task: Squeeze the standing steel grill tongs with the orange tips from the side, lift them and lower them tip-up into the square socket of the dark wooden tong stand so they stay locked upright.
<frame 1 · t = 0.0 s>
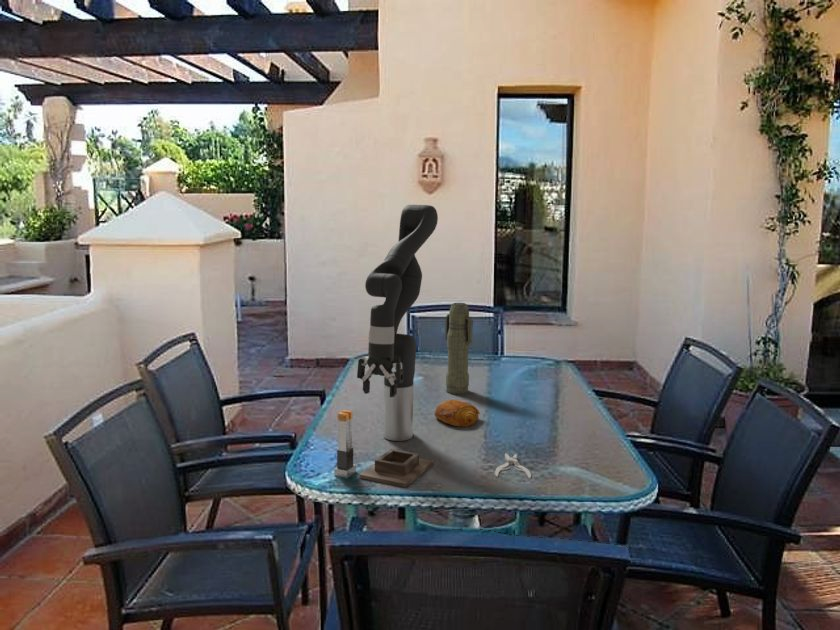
hand: (379, 395, 204), 17 cm above the table, fingers open, 8 cm apart
pliers: (511, 469, 196), on the table
croissant: (457, 421, 236), on the table
thermos: (457, 391, 271), on the table
tong stand: (397, 470, 192), on the table
tongs: (345, 473, 190), on the table
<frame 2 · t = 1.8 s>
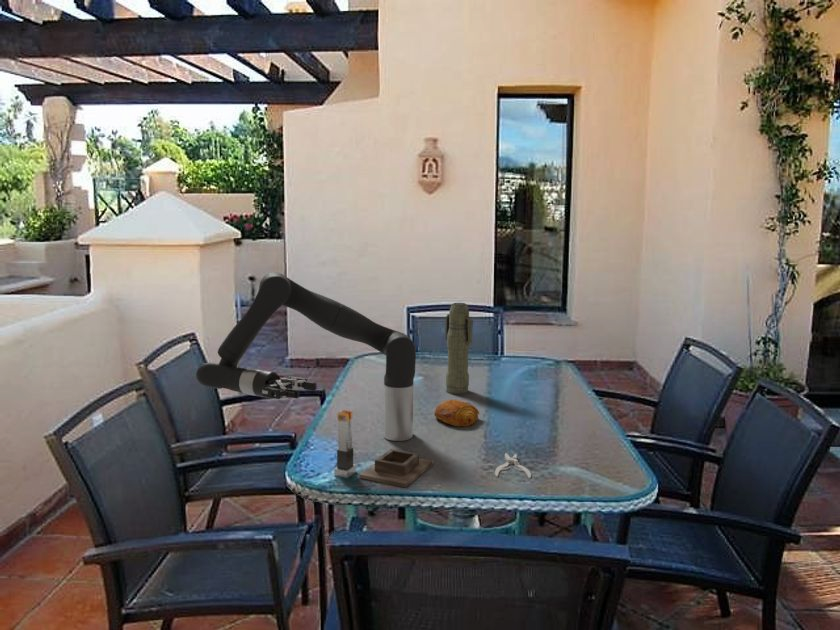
hand: (307, 390, 191), 22 cm above the table, fingers open, 8 cm apart
nothing on the table moved.
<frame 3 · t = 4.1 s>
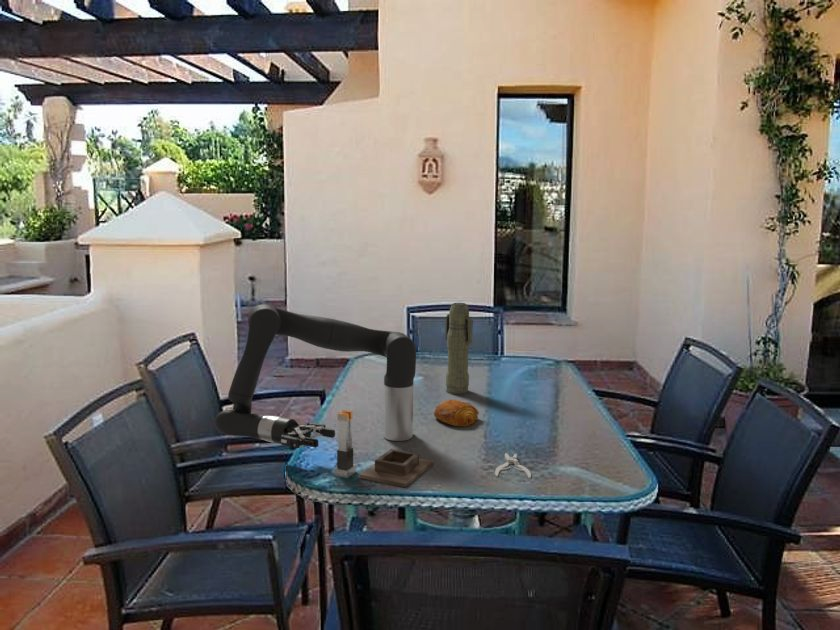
hand: (326, 438, 191), 9 cm above the table, fingers open, 8 cm apart
nothing on the table moved.
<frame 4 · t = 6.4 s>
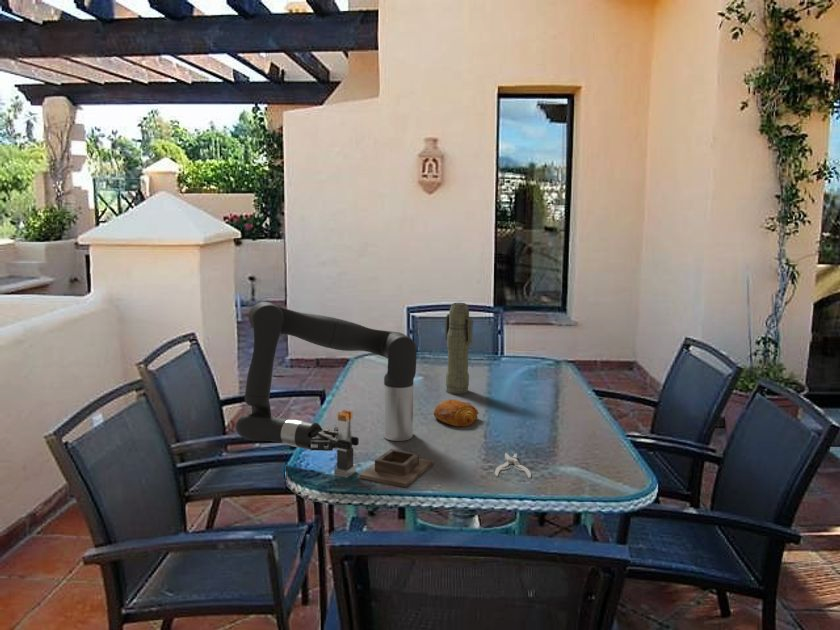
hand: (354, 443, 187), 9 cm above the table, fingers closed on tongs, 3 cm apart
tongs: (345, 473, 190), on the table, touching gripper
everything else where it was.
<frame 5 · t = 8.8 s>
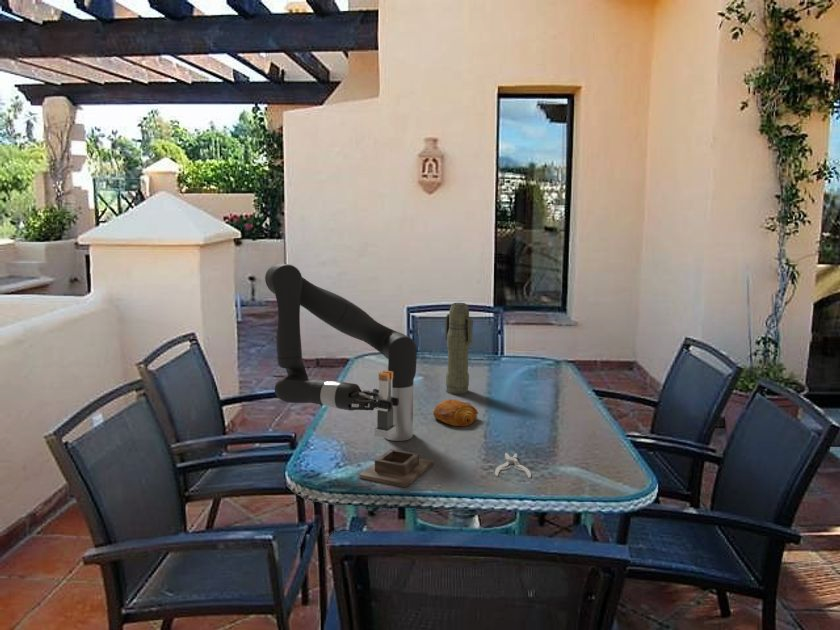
hand: (395, 403, 187), 20 cm above the table, fingers closed on tongs, 3 cm apart
tongs: (385, 434, 190), point 11 cm above the table, touching gripper
everything else where it was.
when the fingers open (11 cm above the table, at t = 11.5 s): tongs drops 1 cm, resting on tong stand.
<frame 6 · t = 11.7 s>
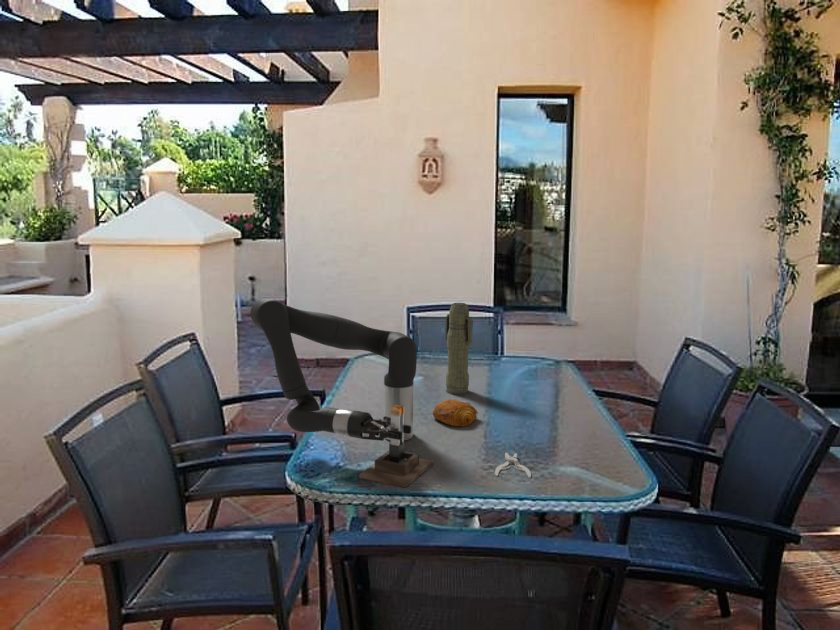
hand: (406, 432, 189), 12 cm above the table, fingers open, 5 cm apart
tongs: (396, 467, 192), point 1 cm above the table, touching tong stand
everything else where it was.
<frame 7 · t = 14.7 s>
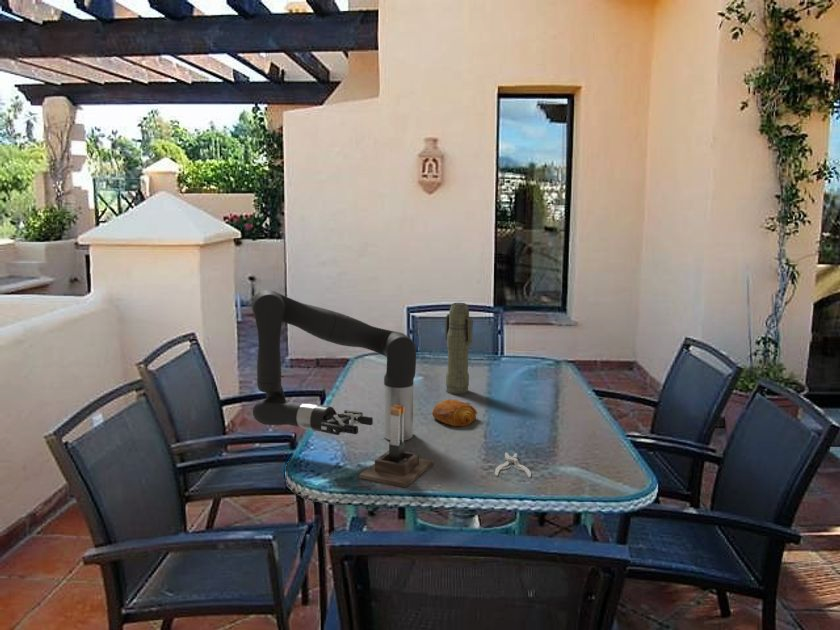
hand: (365, 425, 194), 11 cm above the table, fingers open, 8 cm apart
nothing on the table moved.
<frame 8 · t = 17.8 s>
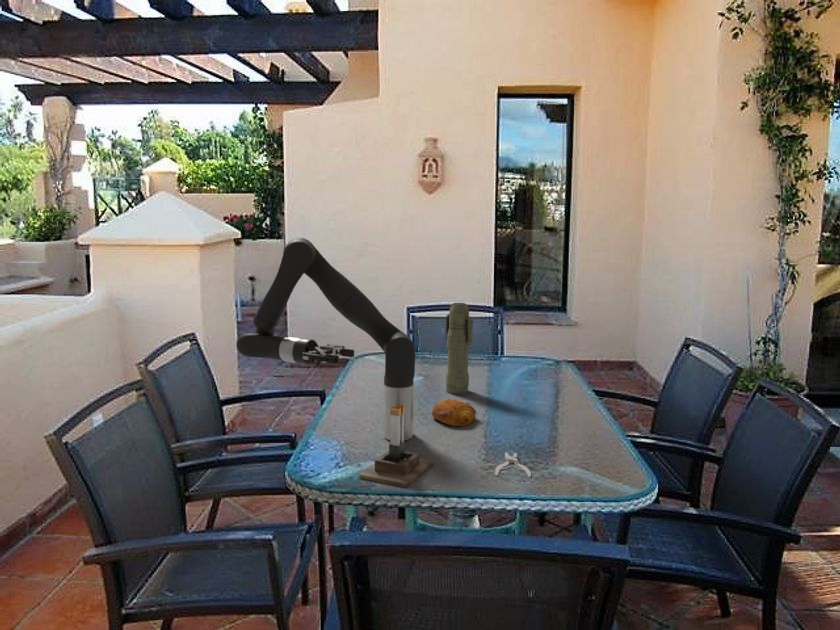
hand: (346, 356, 197), 30 cm above the table, fingers open, 8 cm apart
at the end: tongs 0.1 cm off-centre on the tong stand, point 1.0 cm above the tong stand's base; tongs tilted 0°; the gripper is holding nothing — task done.
